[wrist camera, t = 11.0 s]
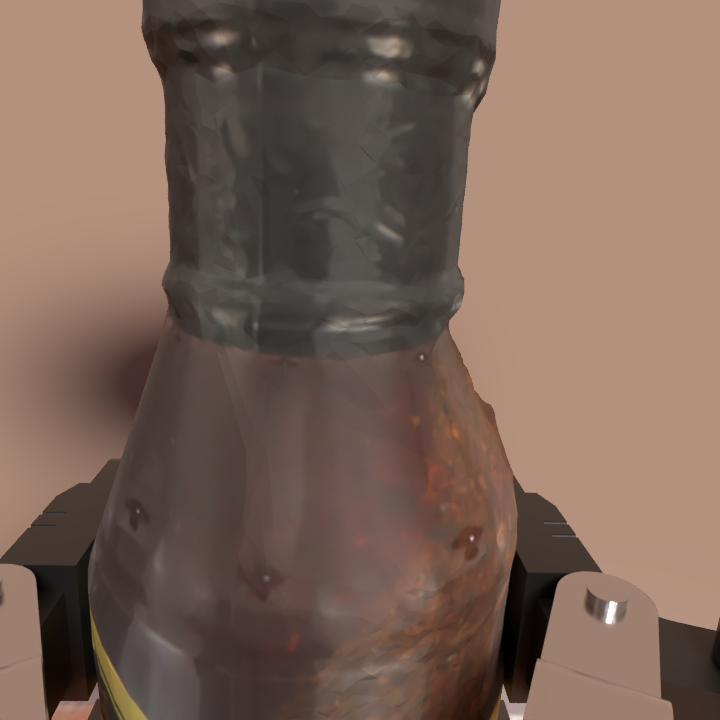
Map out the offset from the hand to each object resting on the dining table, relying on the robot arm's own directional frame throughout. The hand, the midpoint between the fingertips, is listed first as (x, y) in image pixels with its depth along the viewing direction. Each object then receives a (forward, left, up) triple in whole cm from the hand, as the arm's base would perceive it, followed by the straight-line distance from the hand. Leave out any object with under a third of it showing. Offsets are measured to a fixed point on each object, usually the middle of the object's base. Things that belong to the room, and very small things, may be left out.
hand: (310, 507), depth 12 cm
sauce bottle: (0, -2, -11) cm, 11 cm away
